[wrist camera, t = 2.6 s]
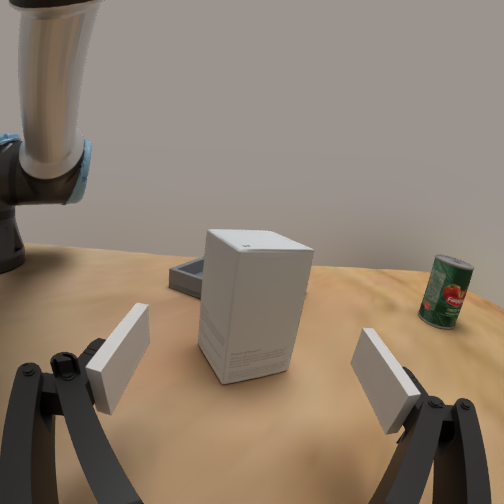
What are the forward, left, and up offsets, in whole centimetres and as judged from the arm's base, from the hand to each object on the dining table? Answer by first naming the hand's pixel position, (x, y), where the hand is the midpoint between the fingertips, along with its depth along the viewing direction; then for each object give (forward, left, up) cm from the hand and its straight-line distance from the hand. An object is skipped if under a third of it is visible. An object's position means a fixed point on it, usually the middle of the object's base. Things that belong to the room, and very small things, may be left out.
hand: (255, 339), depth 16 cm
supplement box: (-4, +9, -9) cm, 13 cm away
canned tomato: (+22, +35, -9) cm, 42 cm away
